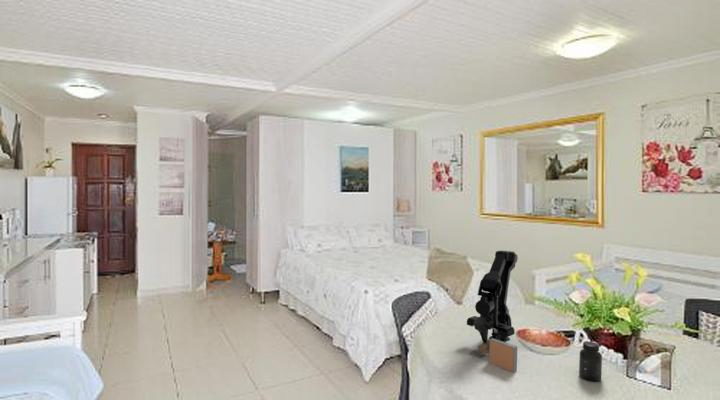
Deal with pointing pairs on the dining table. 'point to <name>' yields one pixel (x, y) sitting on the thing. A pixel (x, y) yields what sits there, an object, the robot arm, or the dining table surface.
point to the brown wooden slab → (481, 350)
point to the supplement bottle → (590, 362)
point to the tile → (503, 355)
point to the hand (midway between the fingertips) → (489, 346)
